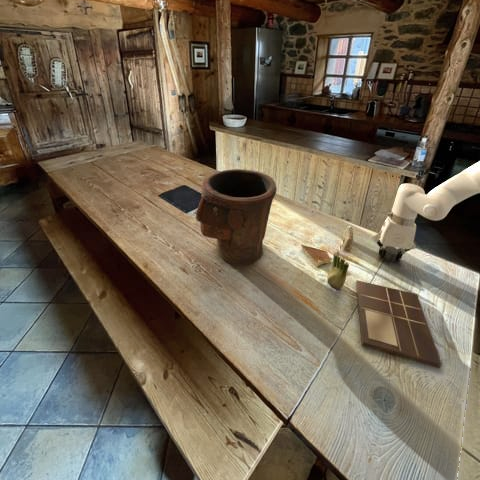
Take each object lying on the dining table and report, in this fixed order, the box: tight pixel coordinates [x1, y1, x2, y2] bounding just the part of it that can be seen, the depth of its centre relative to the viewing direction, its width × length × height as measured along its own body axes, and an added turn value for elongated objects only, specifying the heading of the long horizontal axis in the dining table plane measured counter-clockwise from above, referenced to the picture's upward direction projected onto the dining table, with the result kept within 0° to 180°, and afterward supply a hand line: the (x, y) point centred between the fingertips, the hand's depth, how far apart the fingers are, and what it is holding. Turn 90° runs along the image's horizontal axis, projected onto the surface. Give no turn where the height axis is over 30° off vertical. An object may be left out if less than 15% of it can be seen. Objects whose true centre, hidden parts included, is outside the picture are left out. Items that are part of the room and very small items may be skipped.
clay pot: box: [195, 168, 277, 266], centre depth 97 cm, size 25×29×30 cm
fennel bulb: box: [326, 252, 350, 290], centre depth 87 cm, size 6×5×12 cm
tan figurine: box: [336, 225, 354, 255], centre depth 106 cm, size 7×4×12 cm
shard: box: [300, 244, 333, 267], centre depth 102 cm, size 11×8×2 cm
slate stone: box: [382, 246, 399, 263], centre depth 100 cm, size 5×5×4 cm
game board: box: [355, 280, 442, 369], centre depth 78 cm, size 18×22×2 cm
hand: (389, 257), depth 101 cm, fingers closed on slate stone, 4 cm apart
